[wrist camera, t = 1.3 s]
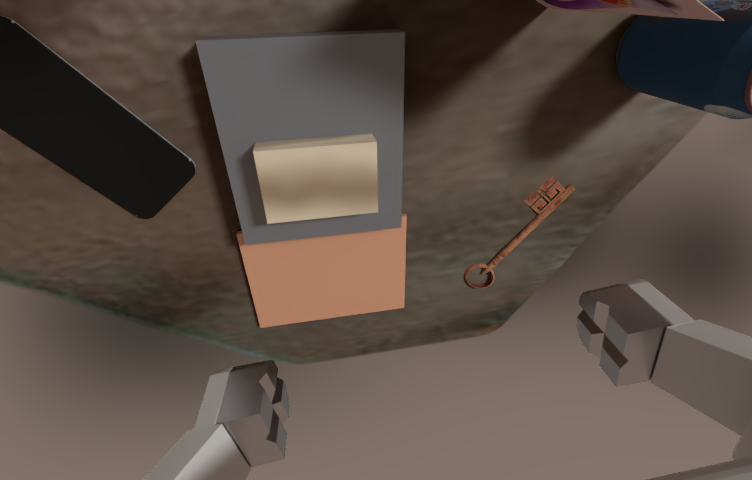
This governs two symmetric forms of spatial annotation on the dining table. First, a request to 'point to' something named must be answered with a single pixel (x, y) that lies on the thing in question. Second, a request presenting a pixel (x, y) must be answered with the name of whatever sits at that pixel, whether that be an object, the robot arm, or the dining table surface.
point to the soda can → (693, 59)
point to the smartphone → (85, 127)
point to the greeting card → (639, 7)
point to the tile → (317, 177)
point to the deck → (307, 113)
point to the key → (521, 235)
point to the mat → (326, 275)
